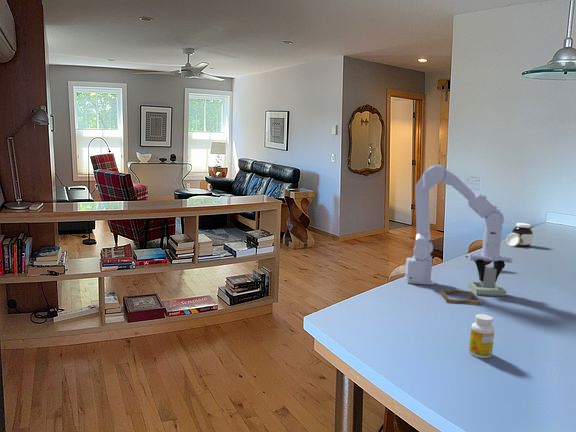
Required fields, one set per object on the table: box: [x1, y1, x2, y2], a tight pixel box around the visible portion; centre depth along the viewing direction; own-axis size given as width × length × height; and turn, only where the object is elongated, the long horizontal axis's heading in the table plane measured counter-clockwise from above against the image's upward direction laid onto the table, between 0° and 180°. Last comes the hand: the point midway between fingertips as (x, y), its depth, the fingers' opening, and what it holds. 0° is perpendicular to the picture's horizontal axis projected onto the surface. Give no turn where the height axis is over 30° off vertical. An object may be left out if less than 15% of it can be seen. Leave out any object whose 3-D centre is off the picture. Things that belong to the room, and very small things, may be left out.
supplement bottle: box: [468, 313, 495, 359], centre depth 118 cm, size 5×5×10 cm
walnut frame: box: [438, 288, 482, 305], centre depth 161 cm, size 11×11×1 cm
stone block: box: [479, 265, 497, 288], centre depth 169 cm, size 4×4×7 cm
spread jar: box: [505, 222, 534, 248], centre depth 251 cm, size 12×11×12 cm
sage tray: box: [467, 280, 507, 298], centre depth 170 cm, size 10×10×2 cm
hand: (487, 280), depth 170 cm, fingers closed on stone block, 4 cm apart
